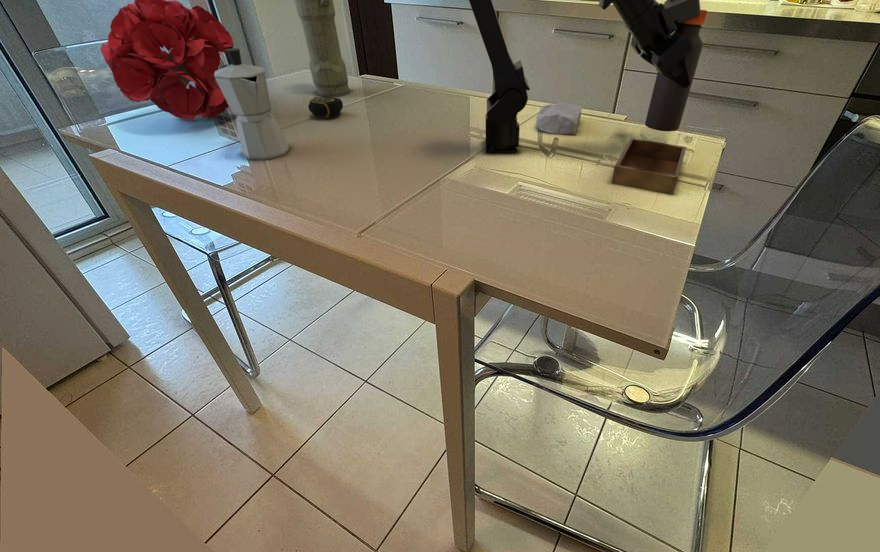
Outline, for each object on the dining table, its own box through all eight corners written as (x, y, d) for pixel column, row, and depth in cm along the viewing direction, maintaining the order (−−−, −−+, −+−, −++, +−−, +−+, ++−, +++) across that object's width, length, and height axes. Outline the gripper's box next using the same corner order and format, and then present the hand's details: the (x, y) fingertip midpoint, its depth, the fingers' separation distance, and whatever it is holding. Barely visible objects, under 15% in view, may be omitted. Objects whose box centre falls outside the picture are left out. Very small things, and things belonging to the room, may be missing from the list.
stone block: (535, 139, 101) (579, 134, 98) (533, 117, 98) (578, 112, 96) (542, 124, 110) (583, 119, 107) (540, 104, 107) (582, 98, 105)
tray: (611, 182, 81) (614, 165, 79) (627, 153, 92) (630, 137, 90) (673, 194, 78) (678, 177, 76) (681, 162, 89) (686, 146, 87)
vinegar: (647, 121, 94) (676, 7, 82) (680, 127, 92) (714, 10, 80) (641, 128, 89) (670, 7, 77) (675, 134, 87) (711, 11, 75)
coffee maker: (302, 154, 88) (273, 51, 76) (259, 167, 83) (220, 58, 71) (267, 134, 95) (236, 38, 84) (225, 145, 91) (186, 44, 79)
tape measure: (345, 111, 108) (342, 95, 106) (336, 121, 103) (332, 104, 100) (318, 110, 108) (314, 94, 106) (307, 120, 103) (303, 102, 101)
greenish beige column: (334, 99, 115) (296, -81, 92) (305, 91, 120) (262, -82, 97) (360, 92, 120) (331, -80, 97) (332, 84, 125) (297, -81, 102)
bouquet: (200, 126, 117) (76, 92, 88) (205, 28, 112) (75, -41, 83) (273, 141, 114) (169, 111, 85) (282, 42, 109) (174, -26, 80)
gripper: (701, -25, 67) (743, 59, 75) (663, -34, 81) (702, 38, 89) (637, 34, 72) (683, 107, 80) (612, 16, 86) (653, 80, 94)
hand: (681, 81), depth 85 cm, fingers closed on vinegar, 7 cm apart
